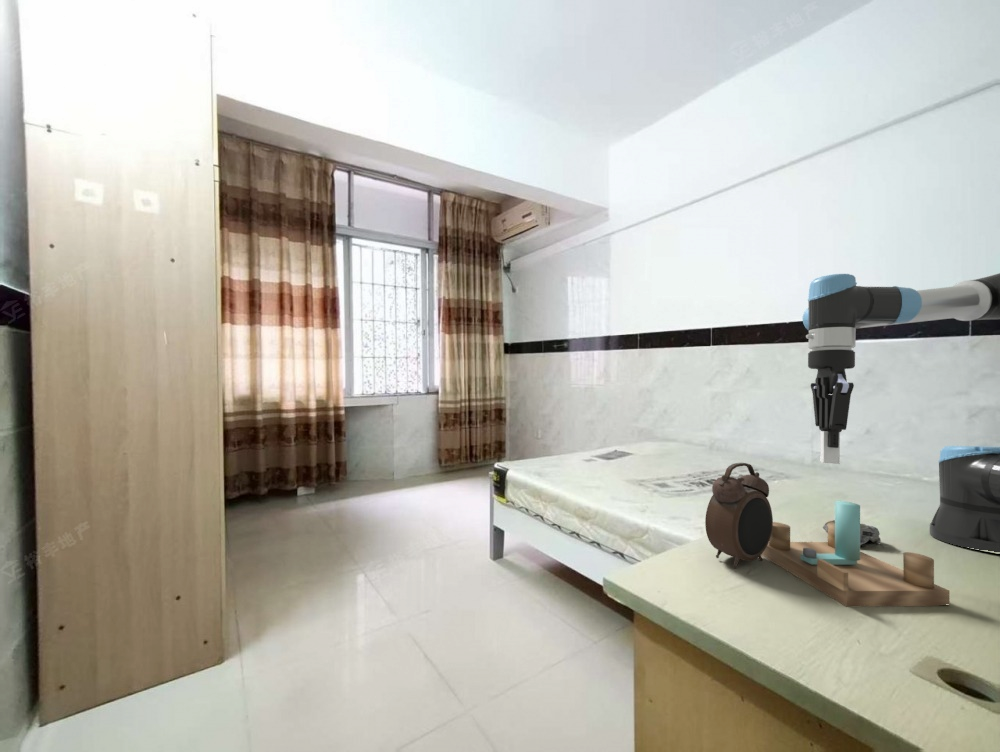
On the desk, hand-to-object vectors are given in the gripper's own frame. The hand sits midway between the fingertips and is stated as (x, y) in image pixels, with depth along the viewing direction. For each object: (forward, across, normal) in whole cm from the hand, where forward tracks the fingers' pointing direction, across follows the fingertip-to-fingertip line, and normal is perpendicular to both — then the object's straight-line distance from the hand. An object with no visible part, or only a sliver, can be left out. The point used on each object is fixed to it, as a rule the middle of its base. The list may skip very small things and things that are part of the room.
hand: (829, 462), depth 81 cm
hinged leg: (+18, +8, -3) cm, 20 cm away
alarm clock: (+21, +7, -17) cm, 28 cm away
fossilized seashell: (+21, -16, +10) cm, 28 cm away
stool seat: (+20, +7, -1) cm, 22 cm away
